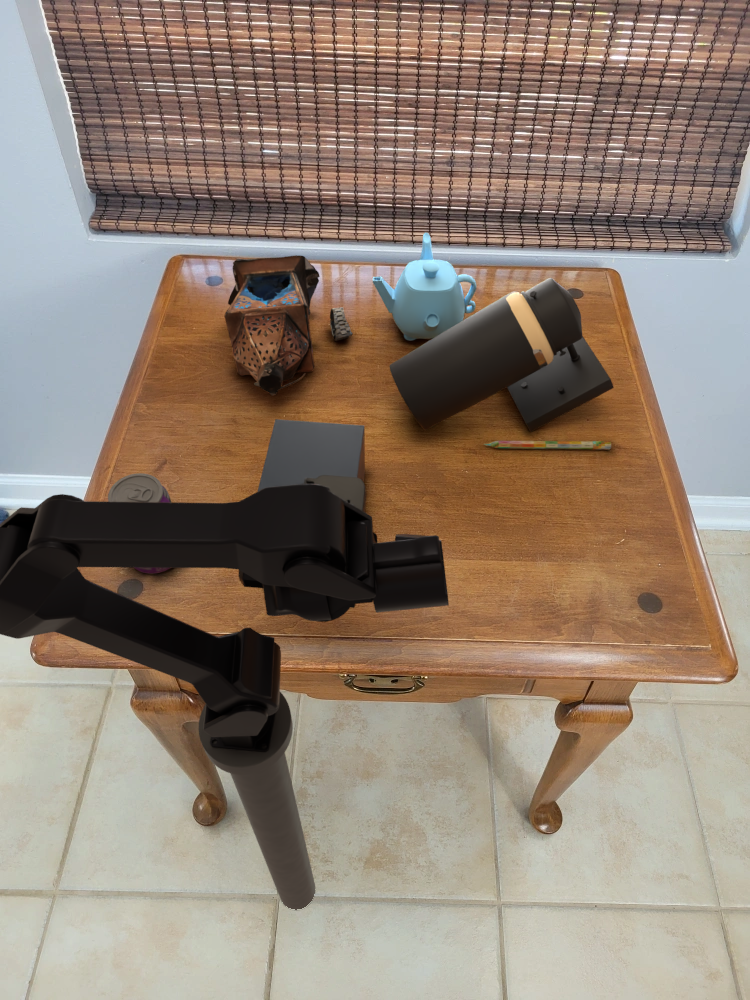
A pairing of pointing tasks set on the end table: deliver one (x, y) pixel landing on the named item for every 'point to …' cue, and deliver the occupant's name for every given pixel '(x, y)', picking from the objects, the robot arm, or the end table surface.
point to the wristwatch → (339, 324)
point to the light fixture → (506, 360)
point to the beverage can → (139, 496)
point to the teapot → (427, 296)
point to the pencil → (551, 444)
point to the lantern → (272, 319)
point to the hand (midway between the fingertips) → (345, 547)
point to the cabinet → (312, 452)
